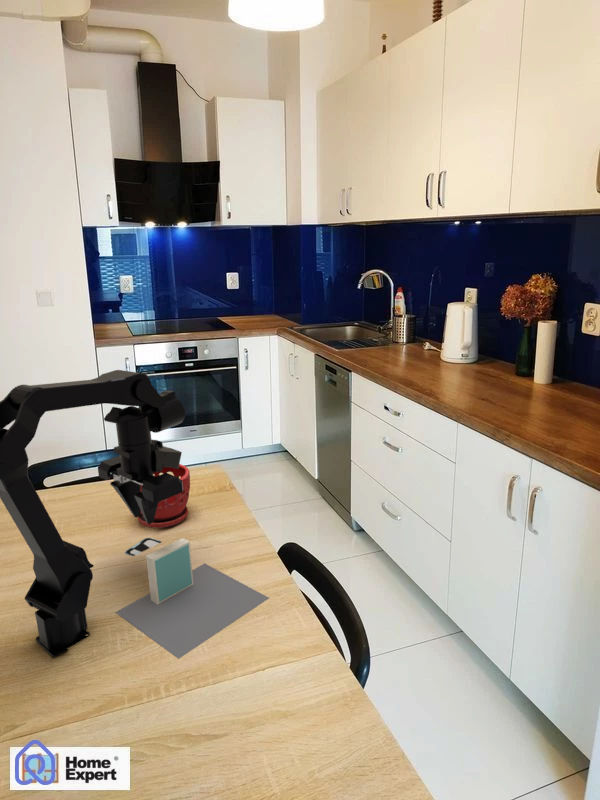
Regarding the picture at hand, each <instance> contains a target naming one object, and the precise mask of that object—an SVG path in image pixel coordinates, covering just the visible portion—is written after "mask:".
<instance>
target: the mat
mask: <svg viewBox="0 0 600 800" xmlns="http://www.w3.org/2000/svg"><path fill="white" fill-rule="evenodd" d="M192 574H193V585H191V586H190V587H188V588H186V589H184V590H183V591H181V592H179V593H177V594H176V595H174V596H172V597H170V598H169V599H167V600H165V601H163V602H162V603H160V604H158V605H157V604H156V603H154V602H153V601H151V596H150V593H148V594H146V595H145V596H142V597H141V598H138V599H137V600H135V601H133V602H131V603H130V604H128V605H125V606H124V607H122V608H121V609H118V610H117V611H115V612H114V613H115V614H117V615H118V616H119V617H121V618H123V620H125V621H126V622H128V623H129V624H130V625H132V626H133V627H134V628H136V629H137V630H139V631H140V632H141V633H142V634H144V635H145V636H147V637H148V638H150V639H151V640H152V641H154V642H155V643H156V644H158V645H159V646H160V647H162V648H163V649H164V650H166V651H167V652H169V654H171V655H172V656H174V657H175V658H177V659H178V660H179V659H181V658H182V657H184V656H185V655H186V654H188V653H190V652H191V651H193V650H194V649H196V648H197V647H199V646H200V645H201V644H203V643H205V642H206V641H208V640H209V639H210V638H212V637H214V636H215V635H216V634H218V633H219V632H221V631H222V630H224V629H226V628H227V627H228V626H230V625H232V624H233V623H234V622H236V621H238V620H239V619H241V618H243V616H246V614H248V613H249V612H251V611H253V609H255V608H257V607H259V606H260V605H261V604H263V603H264V602H265V601H267V600H269V599H270V597H269V596H267V595H265V594H263V593H261V592H259V591H257V590H255V589H253V588H252V587H251V586H248V585H246V584H244V583H243V582H240V581H239V580H237V579H236V578H235V579H234V578H233V577H231V576H229V575H228V574H225V573H223V572H221V571H219V569H216V568H214V567H212V566H210V565H208V564H206V563H203V564H201V565H199V566H197V567H195V568H194V569H192Z"/></svg>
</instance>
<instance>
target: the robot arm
mask: <svg viewBox="0 0 600 800" xmlns="http://www.w3.org/2000/svg"><path fill="white" fill-rule="evenodd" d="M103 404H107V405H108V404H110V405H120V406H127V407H124V408H121V407H117V406H112V407H111V409H110V411H108V413H107V414H105V416H104V418H103V420H104V422H108V423H110V424H115V428H116V435H117V436H116V437H117V446H114V447H113V452H114V454H116V455H117V456H115V457H111V458H108V459H105V460H103V461H100V462H99V465H98V466H97V473H98V478H101V479H103V480H105V481H108V480H109V479H111V477H112V476H113V481H110V482H109V483H110V486H111V487H112V488H113V489H114V490H115V491H116V493H117V495H118V496H119V497H120V498H121V500H122V501H123V502H124V504H125V505H126V507H127V508H128V510H129V511H130V513H131V514H132V515H133V517H134V518H137V517H138V516H140V513H141V512H142V514H143V516H144V518H145V520H146V522H147V524H151V523H153V521H154V518H155V514H156V510H157V506H158V503H159V502H160V501H163V500H165V499H167V498H170V497H172V496H174V495H177V494H179V493H182V492H183V481H182V480H181V479H180V477H179V478H178V477H176V476H174V475H172V474H170V473H169V472H167V473H164V474H163V473H162V474H159V476H155V475H154V474H153V473H154V472H160V471H162V467H172V468H174V469H178V468H179V464H181V462H180V461H181V457H182V453H183V452H182V451H180V450H177V449H175V448H171V447H168V446H164V444H163V442H162V441H160V440H158V439H152V433H156V434H157V433H160V432H163V431H165V430H167V429H170V428H173V427H176V426H177V425H180V424H182V423H183V422H184V420H185V418H186V408H184V406H183V404H182V402H181V401H180V399H178V398H177V397H176V391H174V390H168V389H167V390H164V391H163V390H162V392H158V390H156V388H155V387H154V386H153V385H152V382H151V379H150V377H149V375H147V374H146V373H145V372H136V371H129V370H123V369H122V370H121V369H116V370H112V371H109V372H105V373H102V374H100V375H99V376H98V377H95V378H92V379H86V380H85V379H84V380H77V381H76V380H74V381H65V382H64V381H63V382H54V383H40V384H32V385H28V384H19V385H17V386H15V387H13V388H12V389H11V390H10V391H9V393H8V394H7V395H6V396H5V397H4V398H3V399H2V400H1V401H0V501H1V502H2V504H3V506H5V509H6V510H7V513H8V514H9V515H10V517H11V519H12V520H13V522H14V524H15V525H16V527H17V529H18V530H19V532H20V534H21V536H22V537H23V540H24V541H25V543H26V545H28V547H29V549H30V551H31V553H32V555H33V563H32V564H33V565H32V570H33V572H34V575H35V578H34V581H33V582H32V584H31V585H30V587H29V589H28V590H27V592H26V594H25V596H24V600H25V602H26V603H27V604H28V605H29V607H31V608H34V609H37V610H36V611H34V616H35V621H36V625H37V631H38V636H36V637H35V642H36V643H37V644H38V645H39V646H40V647H41V648H42V649H43V650H44V651H46V653H47V654H49V655H50V656H51V657H52V658H56V657H58V656H60V655H62V654H63V653H66V652H68V651H69V648H71V647H73V646H74V645H76V644H78V643H80V642H82V641H83V640H85V639H87V638H88V637H90V636H91V632H89V631H88V630H87V629H88V626H89V625H88V622H87V614H86V613H87V612H86V608H87V606H88V600H89V595H90V588H91V583H92V580H93V578H94V575H93V570H92V569H91V568H94V564H92V563H91V562H90V561H89V558H88V556H87V555H88V554H87V552H86V551H85V549H84V548H83V547H80V546H78V545H76V544H73V543H71V542H68V541H65V540H63V538H62V536H61V535H60V533H59V530H58V529H57V527H56V526H55V524H54V521H53V519H52V518H51V516H50V514H49V513H48V510H47V509H46V507H45V505H44V503H43V501H42V500H41V498H40V496H39V494H38V493H37V491H36V489H35V487H34V485H33V483H32V481H31V479H30V478H29V474H28V471H29V470H28V469H29V458H28V456H29V455H28V454H27V450H26V448H27V446H28V445H29V444H30V443H31V442H32V441H33V439H34V437H35V436H36V433H37V430H38V426H39V423H40V420H41V418H42V417H43V416H44V414H45V413H46V412H54V411H60V410H65V409H66V410H68V409H74V408H82V407H90V406H97V405H103ZM11 423H12V425H11V426H10V427H9V428H8V429H7V428H6V427H7V426H9V425H10V424H11ZM151 432H152V433H151ZM111 475H112V476H111ZM141 485H142V487H141ZM140 487H141V489H142V492H140Z"/></svg>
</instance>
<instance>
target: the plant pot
mask: <svg viewBox="0 0 600 800" xmlns="http://www.w3.org/2000/svg"><path fill="white" fill-rule="evenodd" d="M169 472H170V473H172V474H173V476H176V477H178V478H179V479H181V480H182V481H183V492H182V493H179V494H177V495H174V496H172V497H170V498H167V499H165V500H163V501H160V502H159V503H158V506H157V510H156V514H155V518H154V521H153V523H151V524H147V522H146V520H145V518H144V516H143V514H142V512H141V513H140V516H138V517H136V519H137V520H138V521H139V523H140V524H141V525H142V526H145V527H149V528H153V529H159V528H161V529H162V528H163V529H164V528H168V527H173V526H175V525H177V524H179V523H181V522H182V521H183V520H184V519H185V518H186V517H187V516H188V513H189V509H188V506H187V504H188V501H189V497H190V489H191V473H190V472H191V471H190V469H189V468H188V467H187V466H186V465H183V464H181V463H180V464H179V468H178V469H174V468H172V467H162V471H160V472H154V473H153V475H154V476H159V475H161V473H162V474H164V473H169ZM141 487H142V485H141ZM141 487H140V492H142V489H141Z"/></svg>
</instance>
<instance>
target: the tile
mask: <svg viewBox="0 0 600 800" xmlns="http://www.w3.org/2000/svg"><path fill="white" fill-rule="evenodd" d="M145 559H146V567H147V568H146V569H147V578H148V585H149V586H148V587H149V594H150V596H151V601H153V602H154V603H156V604H157V605H158V604H160V603H162V602H163V601H165V600H167V599H169V598H170V597H172V596H174V595H176V594H177V593H179V592H181V591H183V590H184V589H186V588H188V587H190V586H191V585H193V574H192V570H193V563H192V553H191V543H190V541H189V540H187V539H186V538H184V537H182V538H180V539H178V540H176V541H173V542H171V543H170V544H168V545H165V546H163V547H161V548H159V549H157V550H155V551H153V552H151V553H149V554H146V555H145Z"/></svg>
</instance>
